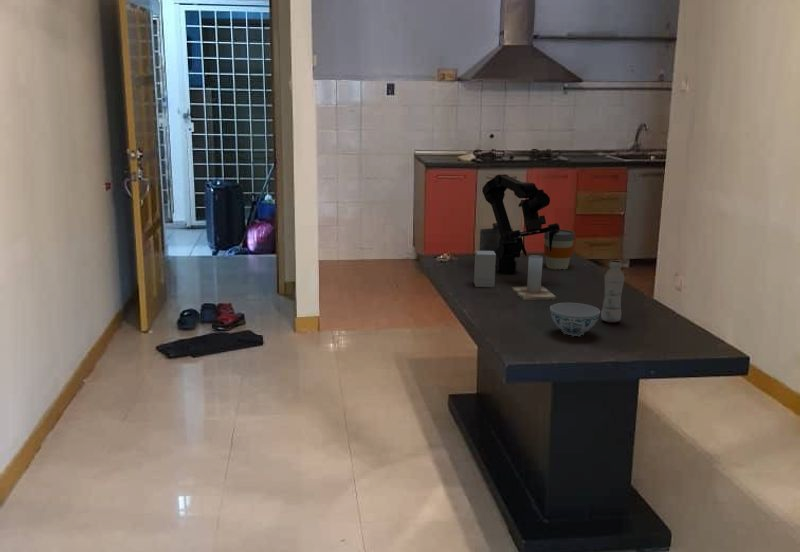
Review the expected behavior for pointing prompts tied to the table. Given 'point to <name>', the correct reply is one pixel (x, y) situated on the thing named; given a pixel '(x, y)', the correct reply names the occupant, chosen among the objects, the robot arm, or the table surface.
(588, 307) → the chinaware
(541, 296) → the beige flat rectangular panel
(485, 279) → the supplement box
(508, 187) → the robot arm
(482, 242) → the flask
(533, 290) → the grey flared tumbler
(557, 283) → the table surface
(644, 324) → the table surface
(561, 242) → the reusable coffee cup
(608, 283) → the plastic bottle
